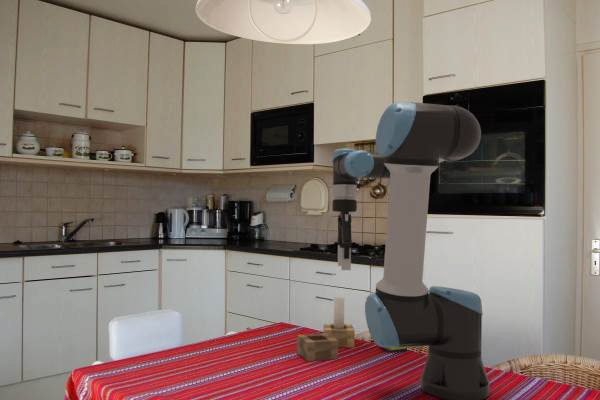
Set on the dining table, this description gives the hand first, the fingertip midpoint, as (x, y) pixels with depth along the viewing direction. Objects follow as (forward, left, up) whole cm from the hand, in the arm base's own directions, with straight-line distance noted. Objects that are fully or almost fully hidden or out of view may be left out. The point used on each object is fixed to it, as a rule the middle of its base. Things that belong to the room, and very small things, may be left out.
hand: (343, 267), depth 156 cm
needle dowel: (+1, +1, -24) cm, 24 cm away
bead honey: (+1, +1, -24) cm, 24 cm away
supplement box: (-5, -15, -24) cm, 28 cm away
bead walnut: (-13, +8, -24) cm, 28 cm away
